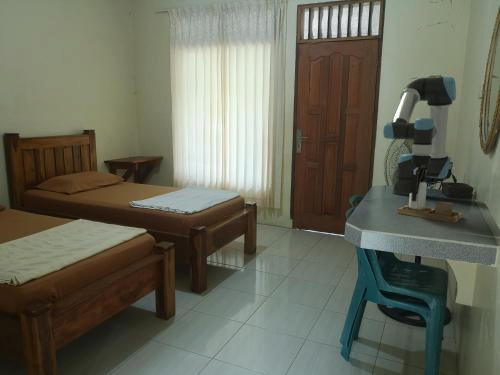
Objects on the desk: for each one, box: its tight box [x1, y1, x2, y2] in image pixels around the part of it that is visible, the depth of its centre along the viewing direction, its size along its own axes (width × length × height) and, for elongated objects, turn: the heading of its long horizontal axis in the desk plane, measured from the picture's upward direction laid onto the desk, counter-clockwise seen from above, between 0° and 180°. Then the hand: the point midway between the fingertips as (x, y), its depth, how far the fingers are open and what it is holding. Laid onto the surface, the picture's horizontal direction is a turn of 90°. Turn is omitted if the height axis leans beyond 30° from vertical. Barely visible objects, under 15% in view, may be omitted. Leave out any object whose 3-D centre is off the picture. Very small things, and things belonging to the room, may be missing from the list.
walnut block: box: [434, 201, 454, 217], centre depth 162 cm, size 6×6×6 cm
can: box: [408, 181, 428, 210], centre depth 169 cm, size 6×6×12 cm
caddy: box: [397, 204, 464, 224], centre depth 166 cm, size 12×23×3 cm, turn 48°
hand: (416, 207), depth 170 cm, fingers closed on can, 6 cm apart
